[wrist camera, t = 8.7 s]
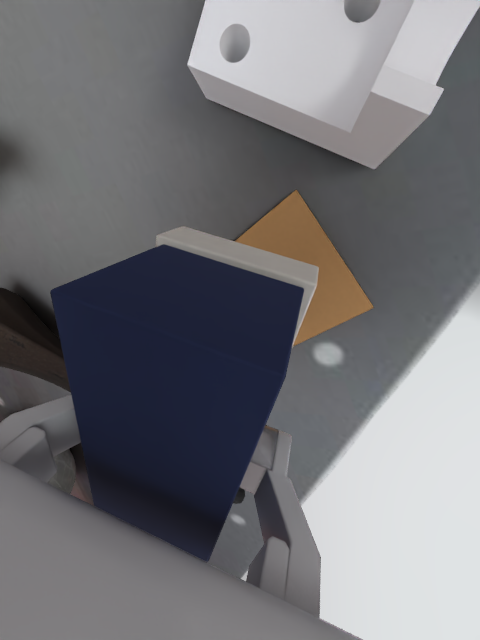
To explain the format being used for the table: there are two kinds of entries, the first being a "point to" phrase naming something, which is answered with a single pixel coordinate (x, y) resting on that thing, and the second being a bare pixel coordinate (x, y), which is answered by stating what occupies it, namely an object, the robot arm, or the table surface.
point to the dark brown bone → (29, 342)
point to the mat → (316, 249)
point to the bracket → (330, 66)
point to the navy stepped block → (179, 375)
